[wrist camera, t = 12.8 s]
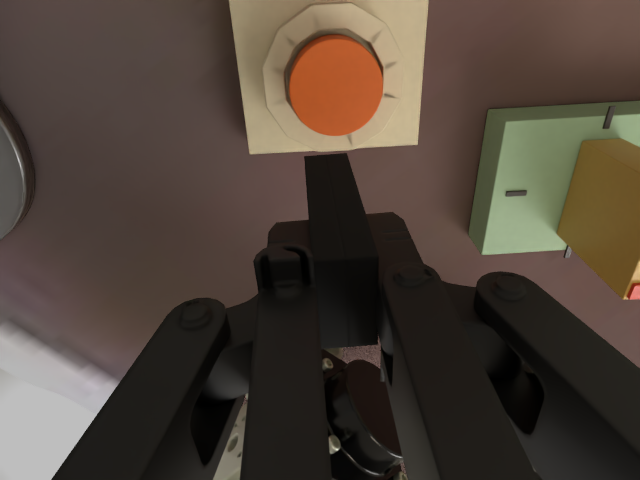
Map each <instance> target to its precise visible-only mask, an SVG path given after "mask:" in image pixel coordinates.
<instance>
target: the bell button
mask: <svg viewBox="0 0 640 480" xmlns="http://www.w3.org/2000/svg"><path fill="white" fill-rule="evenodd" d="M382 94H383V78H382V73H381V70H380V67H379V65H378V63H377V61H376V59H375V58H374V56H373V55H372V54H371V53H370V52H369V51H368V50H367V49H366V48H365V47H364V46H363V45H362V44H361V43H360V42H358V41H357V40H355V39H353V38H351V37H348V36H345V35H340V34H330V35H324V36H321V37H318V38H316V39H314V40H312V41H311V42H309V43H308V44H307V45H305V46H304V47H303V48H302V50H301V51H300V52H299V53H298V55H297V56H296V58H295V60H294V62H293V65H292V68H291V72H290V80H289V95H290V100H291V104H292V107H293V109H294V111H295V113H296V115H297V116H298V118H299V119H300V120H301V121H302V122H303V123H304V124H305V125H306V126H307V127H308V128H310V129H311V130H313V131H315V132H317V133H320V134H323V135H328V136H342V135H346V134H350V133H352V132H355V131H357V130H358V129H360V128H361V127H363V126H364V125H365V124H366V123H368V122H369V121H370V119H371V118H372V117H373V116H374V114H375V113H376V111H377V109H378V107H379V105H380V102H381V98H382Z"/></svg>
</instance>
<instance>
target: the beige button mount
mask: <svg viewBox="0 0 640 480" xmlns="http://www.w3.org/2000/svg"><path fill="white" fill-rule="evenodd" d="M229 6H230V14H231V21H232V28H233V36H234V43H235V50H236V58H237V65H238V73H239V80H240V87H241V95H242V102H243V110H244V117H245V124H246V132H247V139H248V147H249V154H266V153H283V152H300V151H319V152H325V151H342V150H353V149H355V148H369V147H386V146H403V145H417V144H418V131H419V118H420V105H421V92H422V79H423V65H424V52H425V39H426V26H427V13H428V0H229ZM330 34H340V35H345V36H348V37H351V38H353V39H355V40H357V41H358V42H360V43H361V44H362V45H363V46H364V47H365V48H366V49H367V50H368V51H369V52H370V53H371V54H372V55H373V56H374V58H375V59H376V61H377V63H378V65H379V67H380V70H381V73H382V78H383V94H382V98H381V102H380V105H379V107H378V109H377V111H376V113H375V114H374V116H373V117H372V118H371V119H370V121H369V122H368V123H366V124H365V125H364V126H363V127H361V128H360V129H358V130H357V131H355V132H352V133H350V134H346V135H342V136H328V135H323V134H320V133H317V132H315V131H313V130H311V129H310V128H308V127H307V126H306V125H305V124H304V123H303V122H302V121H301V120H300V119H299V118H298V116H297V115H296V113H295V111H294V109H293V107H292V104H291V100H290V95H289V80H290V72H291V68H292V65H293V62H294V60H295V58H296V56H297V55H298V53H299V52H300V51H301V50H302V48H303V47H304V46H305V45H307V44H308V43H309V42H311V41H312V40H314V39H316V38H318V37H321V36H324V35H330Z"/></svg>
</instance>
